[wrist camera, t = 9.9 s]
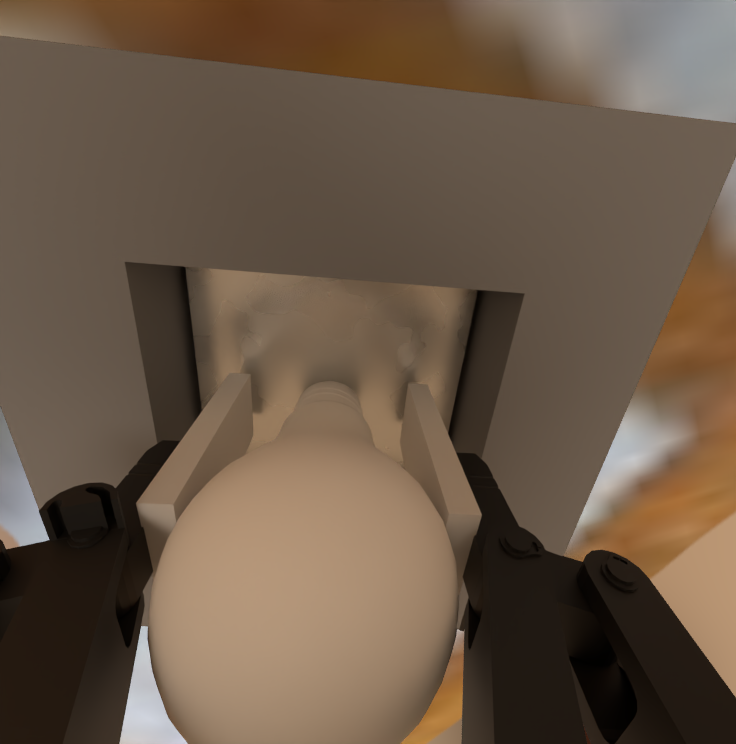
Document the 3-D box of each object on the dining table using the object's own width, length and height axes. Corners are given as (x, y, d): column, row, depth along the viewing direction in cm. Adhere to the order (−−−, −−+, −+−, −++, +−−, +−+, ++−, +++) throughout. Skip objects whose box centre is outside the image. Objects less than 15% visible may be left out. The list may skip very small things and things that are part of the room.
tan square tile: (457, 269, 16) (479, 282, 13) (422, 461, 20) (433, 501, 18) (213, 249, 15) (184, 258, 13) (230, 452, 20) (211, 493, 17)
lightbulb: (251, 452, 16) (90, 863, 6) (258, 317, 14) (3, 635, 4) (388, 466, 17) (447, 856, 7) (418, 340, 14) (581, 663, 4)
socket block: (585, 157, 15) (749, 125, 9) (482, 515, 24) (531, 630, 17) (81, 102, 14) (-145, 18, 8) (159, 504, 22) (82, 625, 16)
